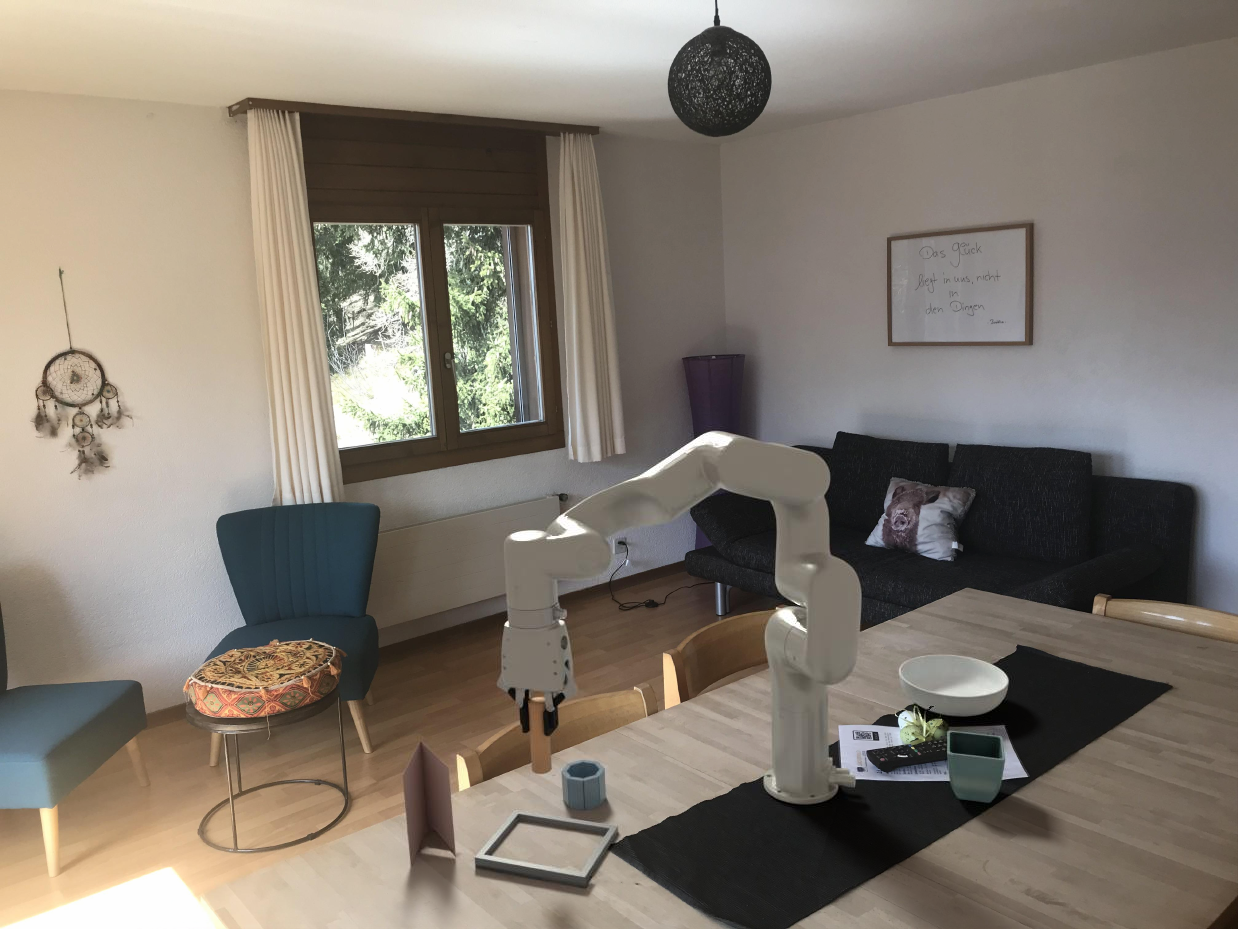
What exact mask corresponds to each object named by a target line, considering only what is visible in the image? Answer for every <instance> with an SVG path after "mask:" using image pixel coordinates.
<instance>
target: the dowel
mask: <svg viewBox="0 0 1238 929" xmlns="http://www.w3.org/2000/svg"><path fill="white" fill-rule="evenodd" d="M528 708H529V726H530V731H529V740H530V757H531V758H530V760H531V771H532V773H534V774H536V775H544V774H548V773H550V772H551V771H552V769H553V765H552V747H551V735H550V736H545V735H544V722H543V712H544V710H545V709H546V704H545V697H543V696H537V697H531V698H530V700H529V701H528Z"/></svg>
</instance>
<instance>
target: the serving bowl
mask: <svg viewBox="0 0 1238 929" xmlns="http://www.w3.org/2000/svg"><path fill="white" fill-rule="evenodd" d="M898 677H899V682H900V685H901V688H902V690H903V691H904V693H905V694H906V696H907V697H908V698H909V699H910V701H912V702H914V703H915V704H916V705H918V706H920V707H921V708H923V709H925V710H927V709H929V707H930V706H934V707H932V708H931V709H930V710H929V711H930V712H932V713H935V714H939V715H940V714H941V715H945V716H953V717H970V716H971V717H972V716H978V715H979V716H980V715H982V714H985V713H988V712H990V711H992V710H994V709H996V708H997V707H998V706H999V705H1000V704H1001V703H1002V701H1003V700H1004V699H1005V698H1006V695H1007V692H1008V688H1009V685H1010V684H1009V682H1010V680H1009V677H1008V675H1007V674H1006V673H1005V672H1004V671H1003V670H1002V668H999V667H997V666H996V665H994V664H991V663H989V662H987V661H984V660H981V659H978V658H975V657H974V658H973V657H969V656H962V655H955V654H954V655H953V654H929V655H922V656H917V657H914V658H910V659H908V660H906V661H904V662H903V663H901V665H900V666H899V668H898Z"/></svg>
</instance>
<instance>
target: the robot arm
mask: <svg viewBox="0 0 1238 929" xmlns="http://www.w3.org/2000/svg"><path fill="white" fill-rule="evenodd" d="M830 482H831V472H830V468H829V466H828V465H827V463H826V462H825V460H824V459H823V458H822V457H821V456H820V455H818V454H817V453H815V452H813V451H809V450H805V449H800V448H797V447H793V446H790V445H786V444H781V443H778V442H777V443H776V442H764V441H761V440H757V439H753V438H750V437H746V436H744V435H743V436H742V435H739V434H734V433H730V432H726V431H720V430H711V431H708V432H705V433H703V434H701V435H699V436H698V437H697V438H695V439H693V440H692V441H690V442H689V443H687V444H685V445H684V446H682V447H681V448H679V449H678V450H677V451H675V452H673V453H672V454H671V455H669V456H668V457H666V458H665V459H663V460H662V461H660V462H658V463H657V464H656V465H654V466H652V467H650V468H649V469H648V470H646V471H645V472H643V473H641V474H640V475H637V476H636V477H633V478H631V479H628V480H625V481H623V482H621V483H617V484H616V485H614V486H612V487H608V488H606V489H602V490H601V491H599V492H597V493H594V494H592V495H590V496H589V497H587V498H585V499H584V500H582V501H580V502H579V503H577V504H576V505H575V506H573V507H571V508H570V509H568V510H567V511H565V512H564V513H562V514H561V515H559V516H558V517H557V518H555V520H554V521H552V523H550V524H549V525H548V527H547V529H546V531H543V530H535V529H531V530H520V531H516V532H514V533H511V534H509V535H508V536H506V538H505V540H504V542H503V556H504V558H503V560H504V572H505V573H504V575H505V590H506V593H505V594H506V605H507V606H506V608H507V609H506V611H507V621H506V622H505V623H504V627H503V631H502V632H503V634H502V639H501V640H502V641H501V656H500V657H501V673H500V676H499V678H498V679H497V681H496V686H497V688H500V690H503V691H504V692H505V693H507V694H508V696H510V698H511V699H512V700H513V701H514V703H515V706H516V707H517V708H518V709H519V723H520V726H521V729H522V733H523V734H528V733H530V726H529V708H528V701H529V700H530V699H531V698H532V696H531V694H532V693H531V692H532V691H536V692H537V691H538V692H543V694H544V695H543V696H544V698H545V704H546V709H545V710H544V712H543V722H544V735H545V736H550V737H551V735H552V734H553V733H554V732H555V731H556V730H557V729H558V727H559V724H560V723H559V705H561V703H563V702H564V701H565V700H568V699H570V698H572V697H573V698H574V697H575V696H576V695H577V694H578V693H579V691H580V689H579V686H578V684H577V683H576V681H575V678H574V664H573V656H572V648H571V644H570V643H571V642H570V638H569V635H568V634H569V633H568V630H567V629H568V628H567V625H566V623H565V621H564V620H561V619H566V618H567V615H568V612H567V611H568V610H567V609H562V608H561V606H560V602H559V596H558V595H559V594H558V581H588V580H593V579H597V578H598V577H600V576H602V575H603V574H604V573H605V572H607V570H608V569H609V567H610V565H611V563H612V558H613V552H612V547H611V545H610V543H609V542H608V540H607V539H608V538H610V537H612V536H613V535H615V534H617V533H620V532H622V531H626V530H629V529H632V528H638V527H649V526H657V525H663V524H667V523H670V522H672V521H674V520H676V519H678V518H679V517H680V516H682V515H683V514H684V513H686V512H687V511H688V510H690V509H691V508H693V507H694V506H696V505H697V504H699V503H700V502H701V501H703V500H705V499H707V497H709V496H711V495H713V493H715V492H716V491H718V490H720V489H723V490H726V491H728V492H731V493H734V494H739V495H742V496H746V497H751V498H755V499H759V500H763V501H769V502H770V503H771V504H770V505H772V507H773V511H774V514H775V519H776V542H775V543H776V545H775V546H776V548H775V567H774V568H775V569H774V570H775V572H774V574H775V575H774V576H775V578H774V579H775V585H776V588H777V591H778V592H779V593H780V594H781V595H782V596H783V597H784V598H786V599H787V600H789V601H791V602H793V603H795V604H797V605H798V606H795V605H794V606H785V607H783V608H782V607H781V608H780V609H778V610H777V611H775V612H774V613H773V614H772V615H771V616H770V618H769V620H768V621H767V623H766V626H765V630H764V631H765V632H764V645H765V646H764V647H765V651H766V657H767V662H768V667H769V674H770V675H769V676H770V677H769V678H770V695H771V696H770V699H771V700H770V706H771V707H770V709H771V710H770V713H771V714H770V715H771V762H772V763H771V764H772V767H771V768H769V770H767V771H766V772H765V774H764V776H763V787H764V789H765V791H766V792H767V793H768V794H769V795H770V796H772V797H773V798H775V799H777V800H779V801H782V802H785V803H790V804H794V805H795V804H796V805H814V804H818V803H823V802H827V801H828V800H831V799H832V798H833V797H834V796H835V795H837V792H838V791H839V786H844V787H849V788H855V786H856V775H854V774H851V773H850V772H851V771H850V770H851V769H850V768H843V767H842V768H841V767H840V768H839V767H837V766H836V765H833V757H829V756H830V755H829V748H830V746H829V686H832V685H837V684H841V683H842V682H844V681H845V680H846V679H847V678H848V677H849V676H850V675H851V673H852V672H853V671H854V668H855V666H856V663H857V660H858V656H859V649H860V646H859V645H860V636H861V635H860V632H861V617H862V616H861V614H862V586H861V583H860V579H859V576H858V574H857V572H856V571H855V569H854V568H853V567H852V566H851V565H850V564H849V563H847V562H846V561H845V560H843V559H841V558H839V557H837V556H834V555H832V554H831V550H830V516H829V515H830V514H829V513H830V512H829V508H828V504H827V500H826V499H825V498H826V497H825V494H826V493H827V491H828V489H829V487H830ZM563 688H565V689H563Z"/></svg>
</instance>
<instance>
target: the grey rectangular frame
mask: <svg viewBox="0 0 1238 929" xmlns="http://www.w3.org/2000/svg"><path fill="white" fill-rule="evenodd" d="M518 821H525V822H531V823H537V824H544V825H550V826H555V827H556V826H557V827H563V828H569V829H574V830H580V831H586V832H592V833H597V834H598V833H600V834H605V835H604V836H603V838H602V839H601V841H600V843H599V844H598V846H597V847H596V849H595V850H594V851H593V853H592V855H591V856H590V858H589V859H588V861H587V862H586V863H585V866H583V869H582V870H581V871H579V870H578V871H576V870H571V869H566V868H559V867H554V866H550V865H545V864H544V865H543V864H537V863H532V862H527V861H521V860H515V859H509V858H506V857H505V858H503V857H499V856H494V855H490V854H491V853H492V852H493V851H494V850H495V849H496V847H497V846H498V845H499V843H501V842H502V840H503V839H504V838H505V836H507V834H508V833H509V832H510V831H511V829H512V828H513V827H514V826H515V825H516V823H517V822H518ZM618 833H619V826H618V825H615V824H614V825H613V824H608V823H600V822H597V821H588V820H581V819H576V818H569V817H564V816H558V815H557V816H556V815H551V814H547V813H545V814H544V813H539V812H533V811H527V810H519V809H515V810H513V812H512V813H511V814H510V816H508V818H507V819H506V820H505V821H504V823H503V824H501V826H500V827H499V828H498V829H497V831H495V833H494V834H493V835H492V837H490V839H488V841H487V842H486V843H485V844H484V845H483V847H482V848H481V849H480V850H479V851H478V852H477V854H476V855H475V856H474V867H475V869H479V870H485V871H489V872H494V873H501V874H505V875H511V876H515V877H516V876H517V877H521V878H525V879H526V878H527V879H532V880H538V881H544V882H548V883H552V884H559V885H565V886H571V887H576V888H580V889H587V887H588V886H589V883H591V880H592V879H593V877H594V876H593V875H592V874H593V872H594V871H595V869H596V868H597V866H598V865H599V863H600V861H601V860H602V858H603V857H604V855H605V853H606V852H607V851H608V849H609V847H610V845H611V844H612V843H613V841H614V840H615V838H616V836H617V835H618Z"/></svg>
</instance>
